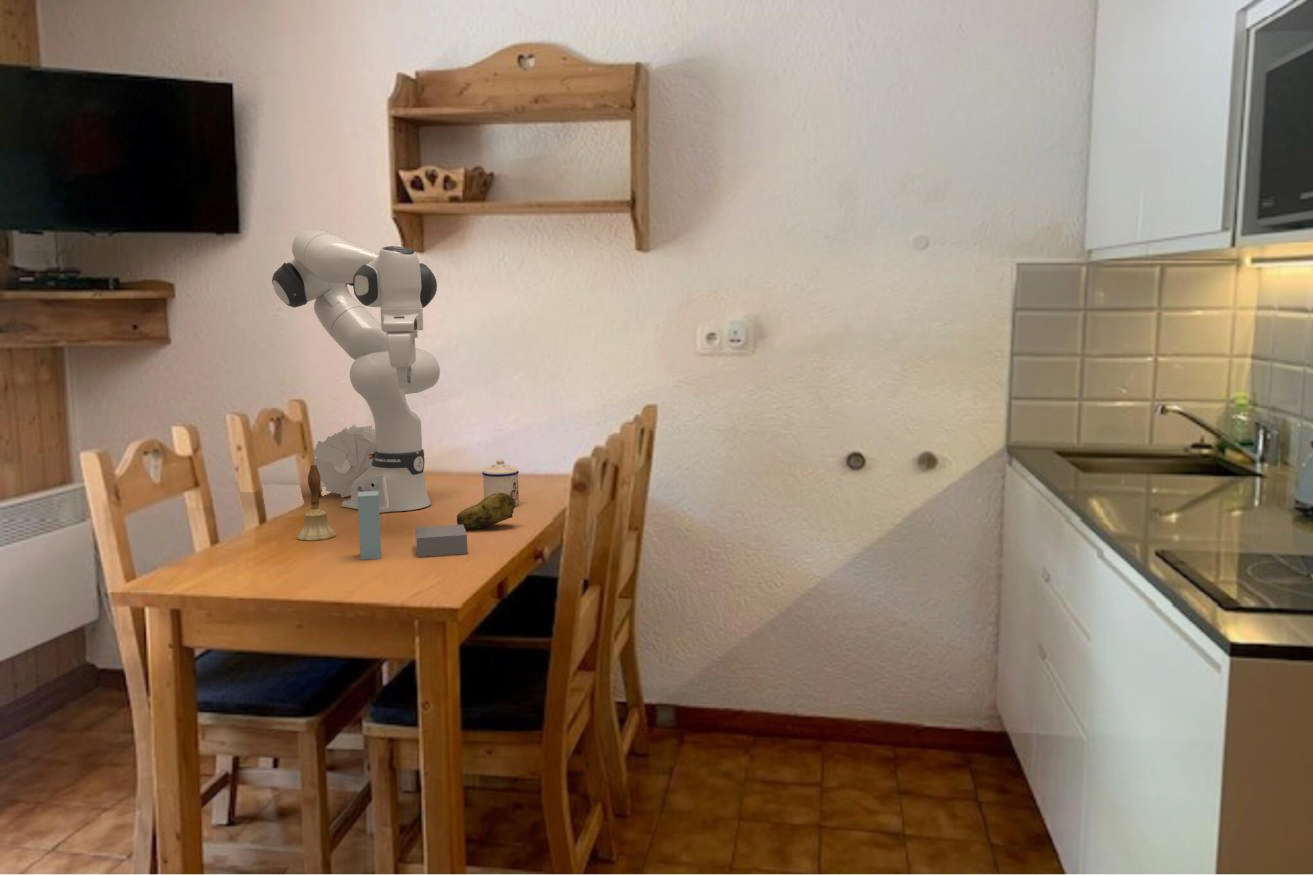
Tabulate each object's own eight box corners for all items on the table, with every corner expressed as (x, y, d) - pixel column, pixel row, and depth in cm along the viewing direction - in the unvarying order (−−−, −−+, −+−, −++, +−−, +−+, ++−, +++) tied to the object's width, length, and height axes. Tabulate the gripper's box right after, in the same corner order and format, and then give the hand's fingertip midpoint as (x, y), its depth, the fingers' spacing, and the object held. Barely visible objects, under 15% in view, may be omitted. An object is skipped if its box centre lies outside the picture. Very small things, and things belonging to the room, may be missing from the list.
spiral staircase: (382, 497, 295) (360, 511, 271) (325, 471, 294) (297, 482, 269) (409, 439, 294) (389, 447, 269) (351, 412, 293) (326, 418, 268)
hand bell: (302, 532, 234) (298, 462, 232) (339, 531, 235) (336, 461, 233) (292, 541, 226) (288, 468, 224) (331, 540, 227) (328, 468, 224)
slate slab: (417, 557, 211) (416, 538, 210) (415, 546, 221) (415, 527, 220) (467, 553, 214) (466, 534, 213) (463, 542, 223) (463, 524, 223)
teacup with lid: (518, 508, 258) (516, 462, 256) (481, 509, 258) (479, 463, 256) (522, 499, 270) (521, 454, 268) (486, 500, 269) (485, 455, 268)
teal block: (360, 559, 210) (357, 496, 208) (361, 554, 214) (358, 491, 213) (381, 558, 210) (378, 495, 209) (381, 552, 215) (378, 490, 213)
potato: (463, 524, 242) (462, 490, 240) (518, 524, 241) (517, 490, 240) (454, 532, 233) (453, 497, 232) (511, 532, 233) (510, 497, 232)
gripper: (392, 321, 235) (394, 383, 236) (381, 323, 215) (384, 390, 216) (420, 321, 236) (423, 382, 237) (413, 323, 215) (416, 389, 217)
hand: (404, 386), depth 227 cm, fingers open, 8 cm apart
